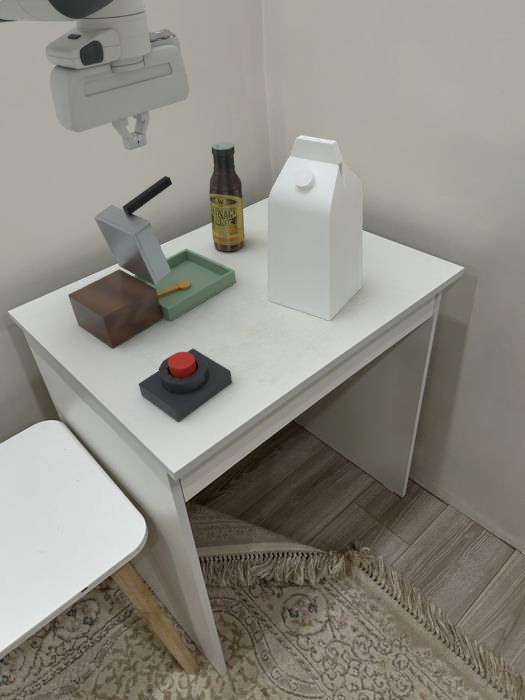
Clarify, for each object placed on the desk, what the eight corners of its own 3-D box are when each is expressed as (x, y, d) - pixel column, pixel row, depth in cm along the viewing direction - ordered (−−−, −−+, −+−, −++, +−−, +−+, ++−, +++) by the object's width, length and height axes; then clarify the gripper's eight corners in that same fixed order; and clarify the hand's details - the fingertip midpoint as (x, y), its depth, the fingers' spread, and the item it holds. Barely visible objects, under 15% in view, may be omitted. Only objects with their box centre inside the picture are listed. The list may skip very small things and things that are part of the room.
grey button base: (178, 422, 72) (173, 400, 69) (141, 395, 76) (135, 373, 74) (232, 382, 77) (229, 360, 75) (194, 359, 82) (191, 338, 79)
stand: (112, 348, 85) (103, 317, 81) (78, 324, 90) (67, 294, 87) (162, 319, 90) (156, 288, 86) (127, 298, 96) (119, 268, 92)
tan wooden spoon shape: (193, 284, 96) (193, 287, 96) (186, 278, 98) (187, 281, 98) (159, 297, 93) (159, 300, 94) (152, 290, 95) (153, 293, 96)
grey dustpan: (128, 228, 78) (188, 183, 83) (90, 210, 83) (148, 169, 88) (155, 285, 86) (208, 242, 91) (119, 266, 92) (170, 226, 96)
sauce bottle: (209, 251, 107) (196, 150, 94) (220, 236, 112) (209, 138, 99) (240, 255, 105) (231, 152, 93) (250, 239, 110) (243, 139, 97)
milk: (362, 286, 94) (372, 132, 78) (329, 320, 87) (334, 159, 71) (302, 269, 100) (300, 122, 83) (267, 300, 93) (258, 146, 76)
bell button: (181, 382, 73) (179, 372, 71) (164, 370, 75) (162, 361, 73) (201, 368, 74) (200, 358, 73) (184, 357, 76) (182, 348, 75)
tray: (170, 321, 90) (168, 309, 88) (123, 294, 97) (120, 282, 95) (236, 282, 98) (234, 270, 96) (188, 259, 105) (186, 248, 104)
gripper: (162, 24, 78) (176, 124, 87) (32, 50, 67) (63, 162, 76) (191, 28, 75) (203, 131, 83) (59, 56, 63) (88, 172, 72)
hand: (135, 146), depth 79 cm, fingers closed
